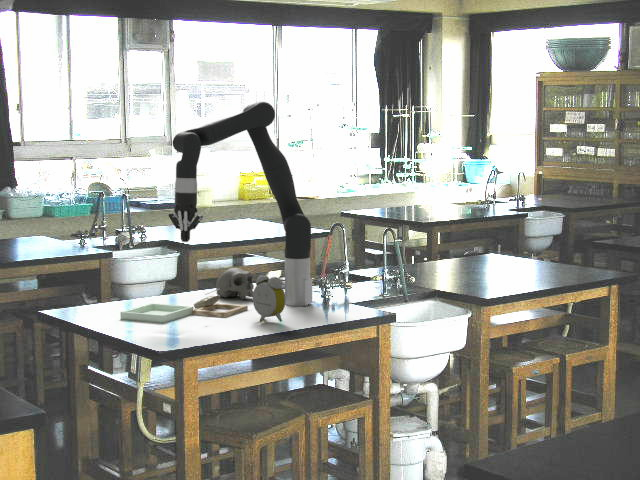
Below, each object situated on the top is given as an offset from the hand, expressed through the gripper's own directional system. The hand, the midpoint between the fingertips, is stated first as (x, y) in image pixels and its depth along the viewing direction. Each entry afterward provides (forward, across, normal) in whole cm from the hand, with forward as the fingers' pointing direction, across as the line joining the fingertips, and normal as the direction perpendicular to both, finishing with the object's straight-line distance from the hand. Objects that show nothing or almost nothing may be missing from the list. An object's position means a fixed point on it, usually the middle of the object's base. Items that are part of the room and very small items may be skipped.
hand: (185, 241), depth 357 cm
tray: (+26, +6, +7) cm, 27 cm away
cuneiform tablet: (+19, -8, -8) cm, 23 cm away
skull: (+25, 0, -38) cm, 45 cm away
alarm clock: (+25, -32, -1) cm, 40 cm away
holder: (+25, -9, -9) cm, 28 cm away
